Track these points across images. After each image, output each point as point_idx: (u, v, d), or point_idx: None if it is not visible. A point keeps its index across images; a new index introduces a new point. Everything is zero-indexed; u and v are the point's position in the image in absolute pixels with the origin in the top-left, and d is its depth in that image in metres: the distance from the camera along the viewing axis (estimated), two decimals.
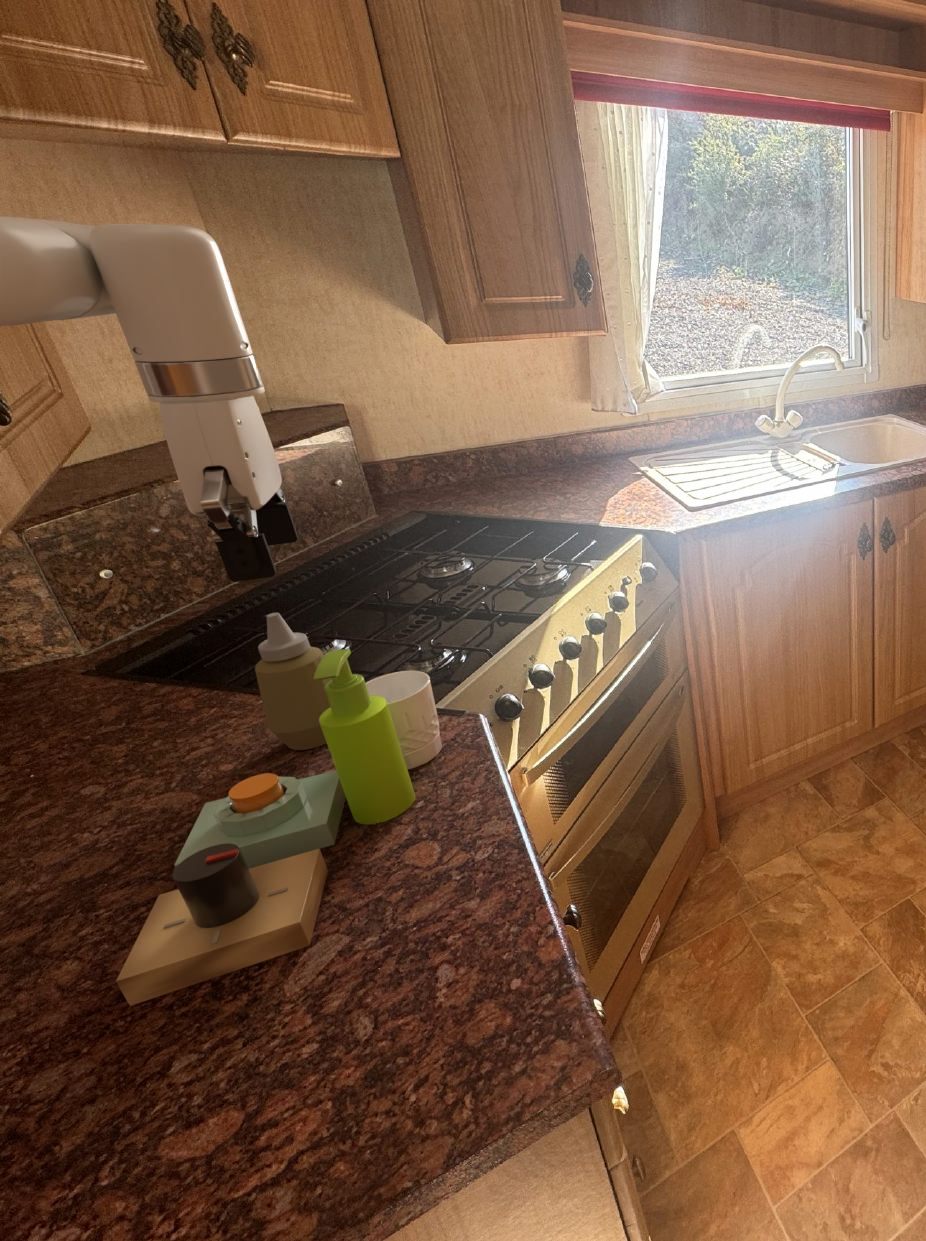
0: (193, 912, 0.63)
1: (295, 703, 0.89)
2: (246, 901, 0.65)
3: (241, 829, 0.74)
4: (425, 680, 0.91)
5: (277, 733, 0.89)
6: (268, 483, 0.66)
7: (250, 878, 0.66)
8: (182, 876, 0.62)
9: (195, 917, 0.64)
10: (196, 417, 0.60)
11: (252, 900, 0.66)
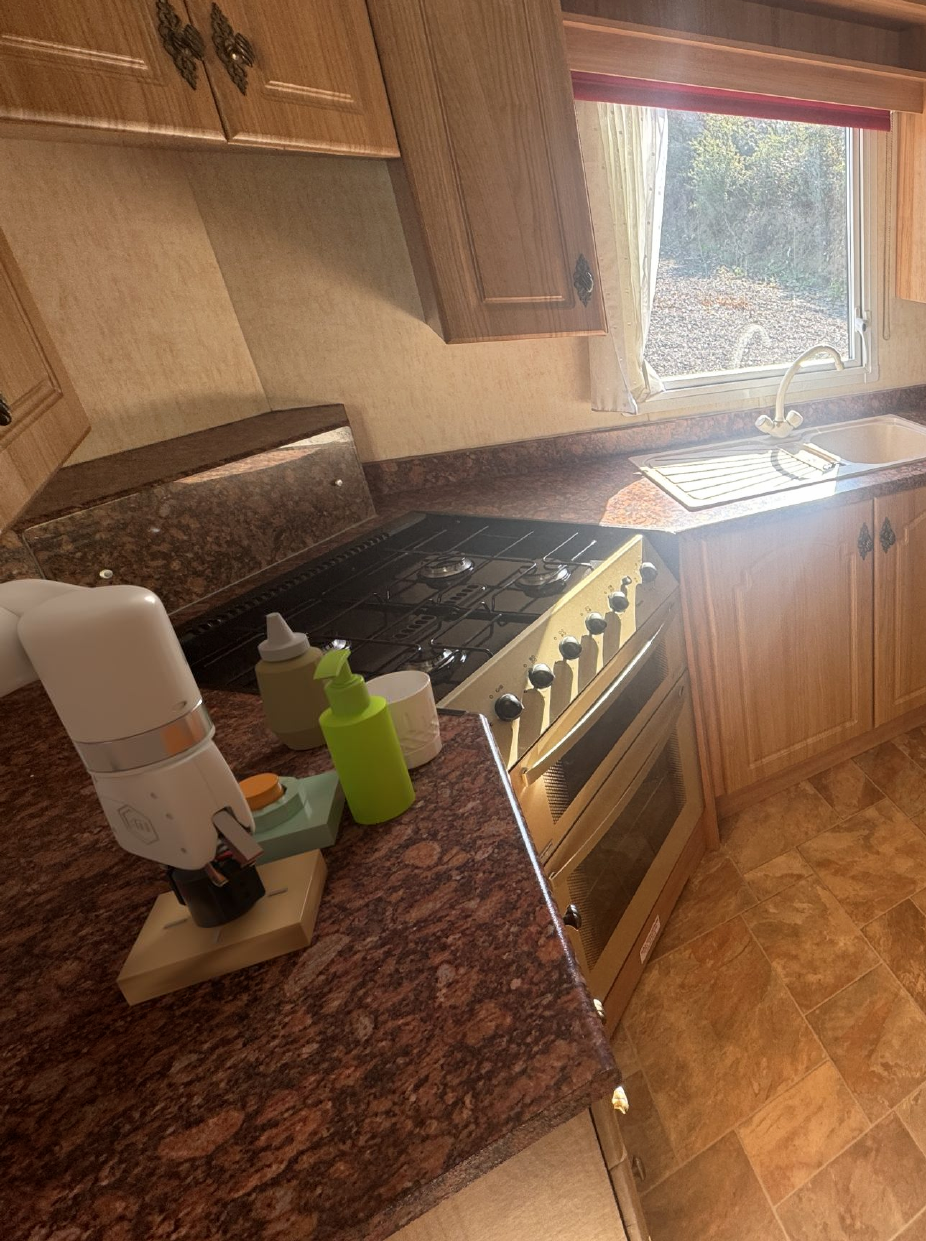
0: (192, 912, 0.63)
1: (294, 703, 0.89)
2: None
3: None
4: (425, 680, 0.91)
5: (277, 733, 0.89)
6: None
7: None
8: (182, 876, 0.62)
9: (195, 917, 0.64)
10: (198, 769, 0.59)
11: None
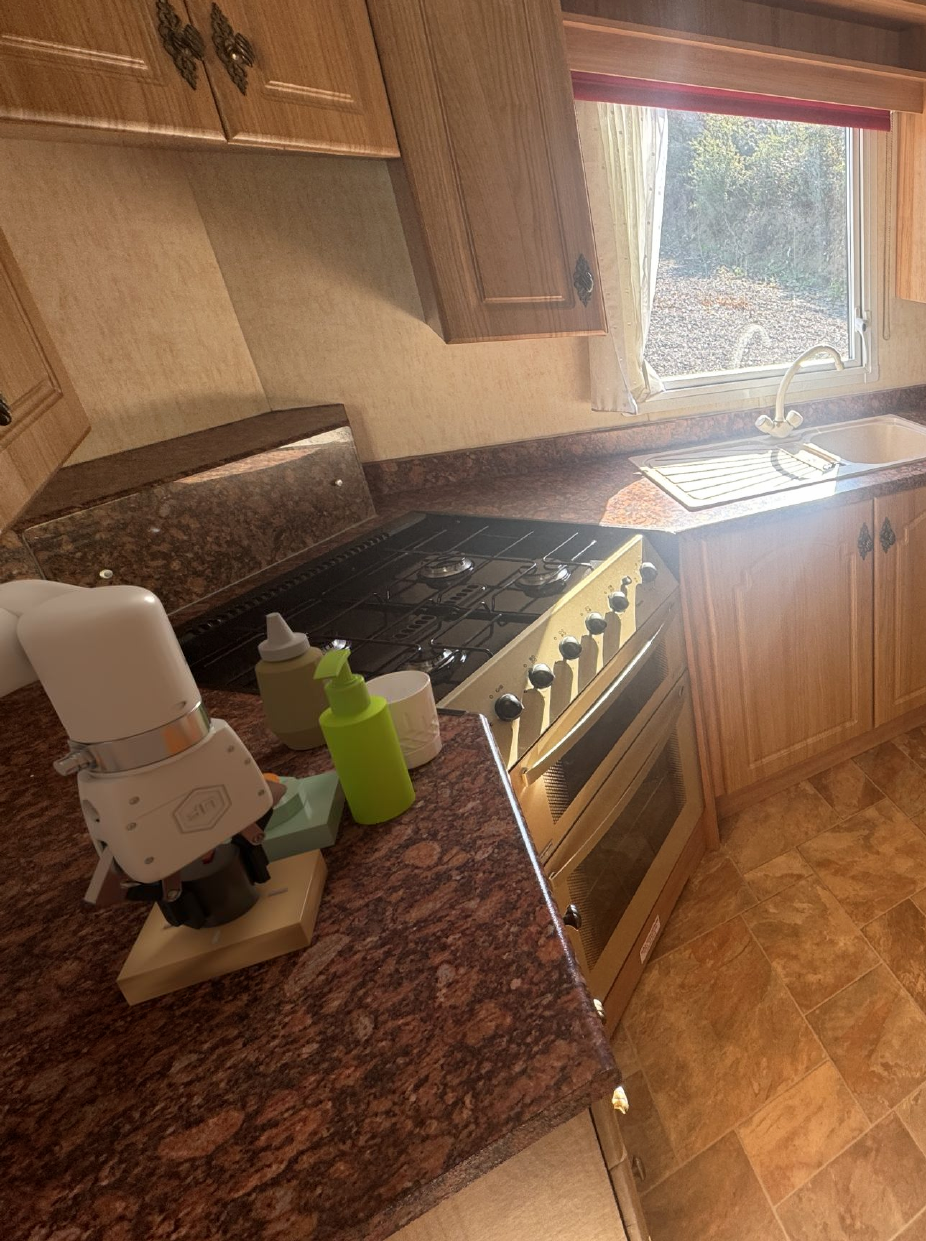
0: (239, 898, 0.65)
1: (294, 703, 0.89)
2: None
3: None
4: (425, 680, 0.91)
5: (277, 733, 0.89)
6: None
7: None
8: (219, 866, 0.63)
9: (241, 903, 0.65)
10: None
11: None
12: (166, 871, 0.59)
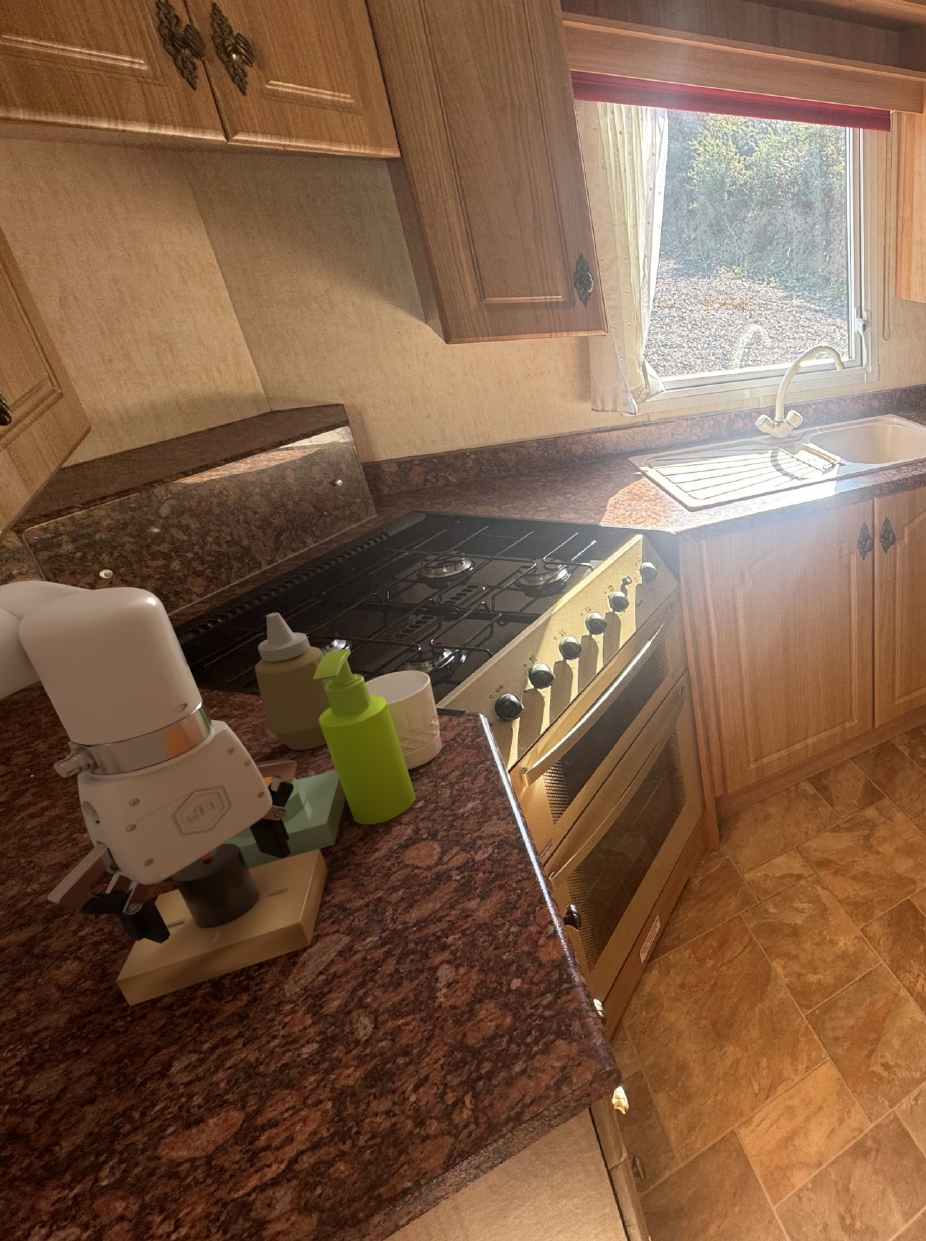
0: (240, 897, 0.65)
1: (294, 703, 0.89)
2: None
3: None
4: (425, 680, 0.91)
5: (277, 733, 0.89)
6: None
7: None
8: (220, 866, 0.63)
9: (242, 902, 0.65)
10: None
11: None
12: (165, 873, 0.59)
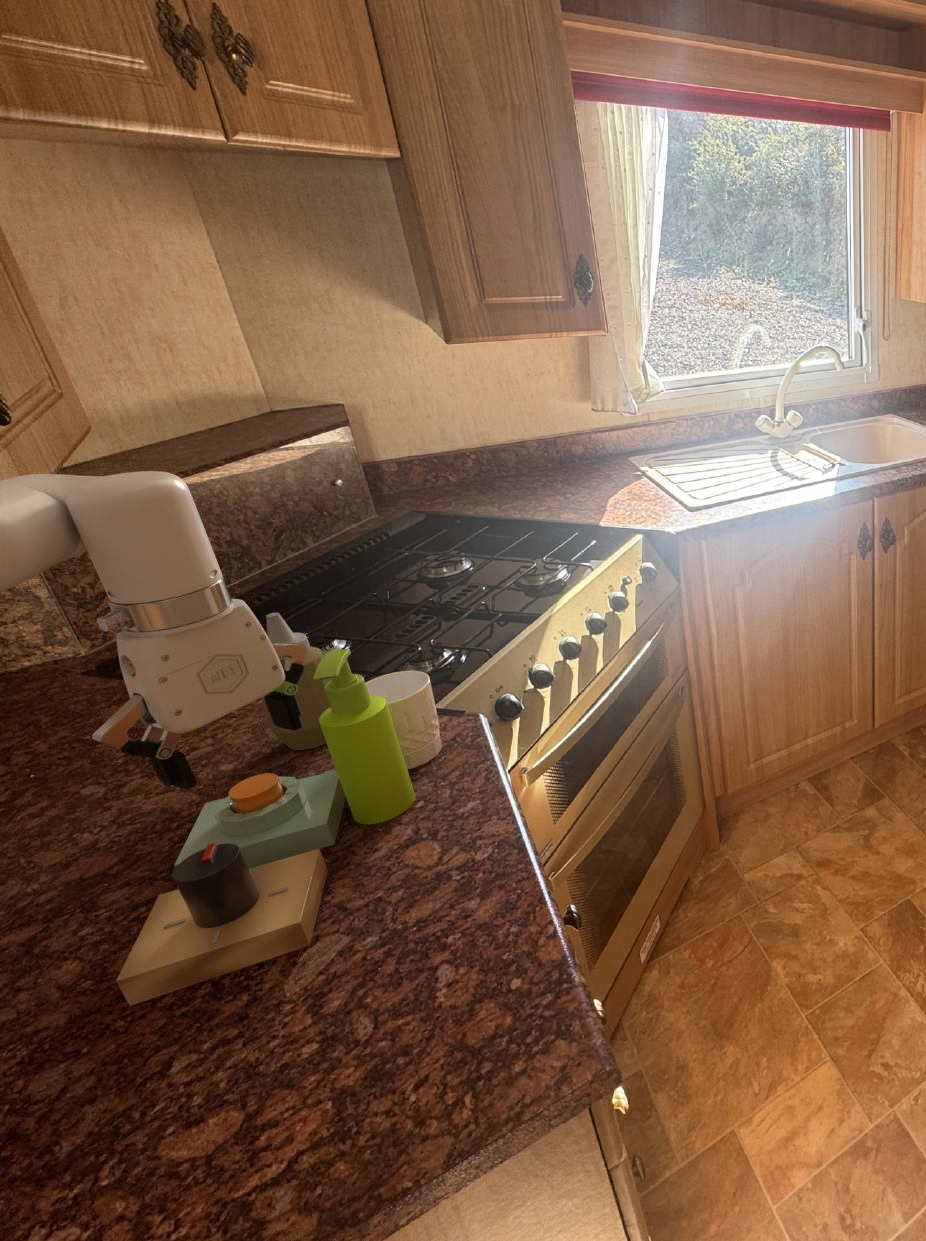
0: (240, 897, 0.65)
1: None
2: None
3: (241, 829, 0.74)
4: (425, 680, 0.91)
5: (277, 733, 0.89)
6: None
7: None
8: (220, 866, 0.63)
9: (242, 902, 0.65)
10: None
11: None
12: (192, 724, 0.67)
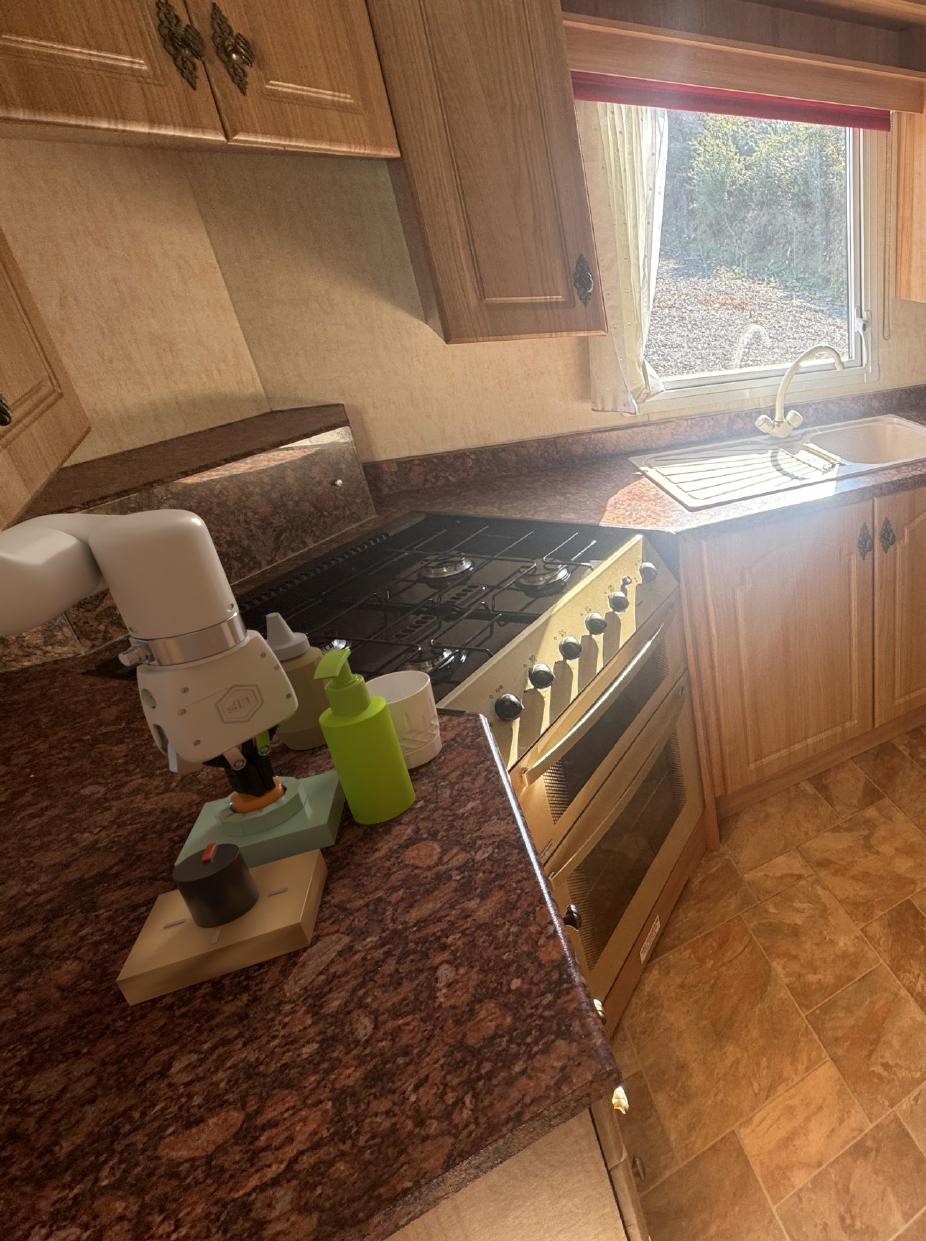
0: (240, 897, 0.65)
1: None
2: None
3: (241, 829, 0.74)
4: (425, 680, 0.91)
5: (277, 733, 0.89)
6: None
7: None
8: (220, 866, 0.63)
9: (242, 902, 0.65)
10: None
11: None
12: (210, 754, 0.69)
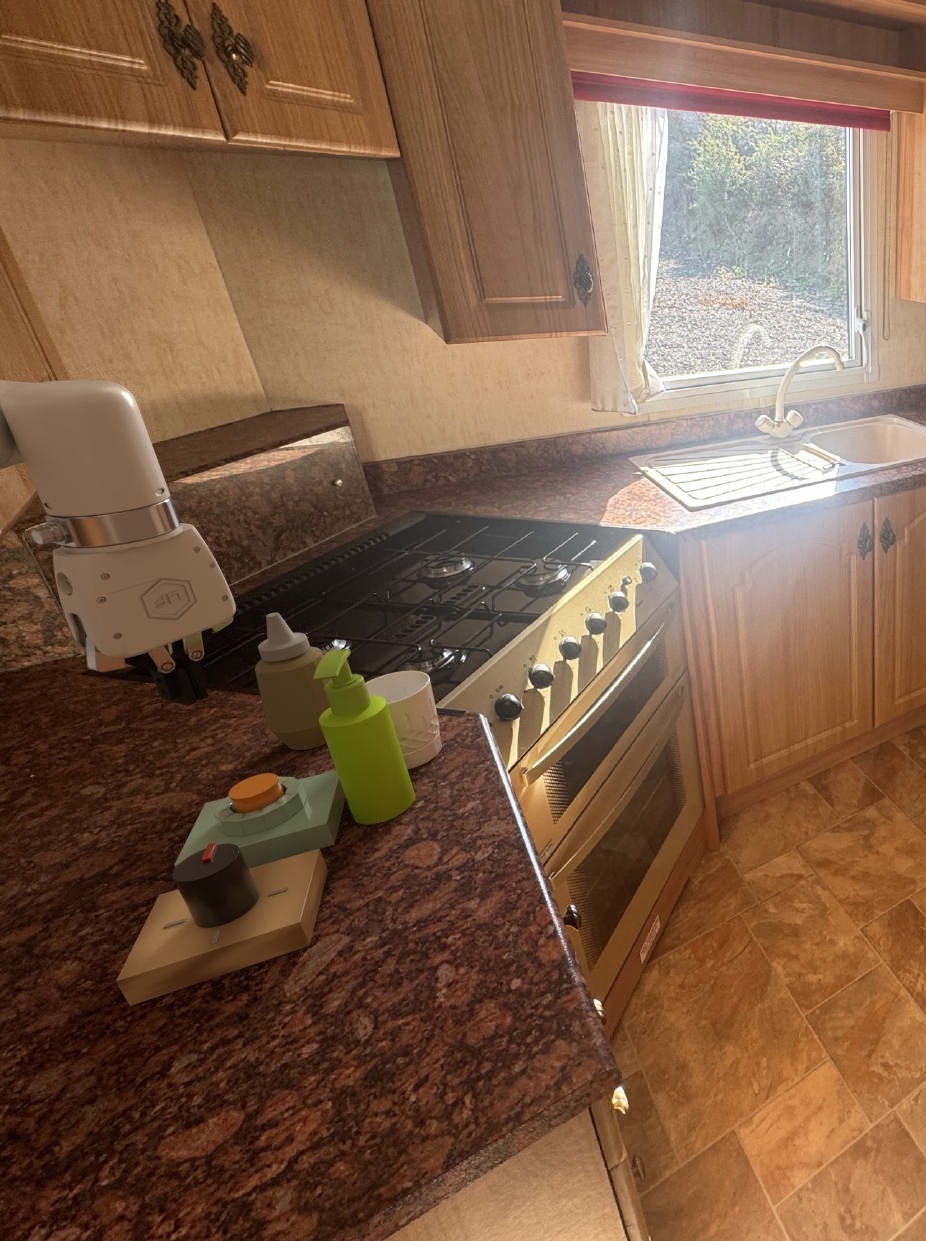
0: (240, 897, 0.65)
1: (294, 703, 0.89)
2: None
3: (241, 829, 0.74)
4: (425, 680, 0.91)
5: (277, 733, 0.89)
6: None
7: None
8: (220, 866, 0.63)
9: (242, 902, 0.65)
10: None
11: None
12: (133, 650, 0.64)
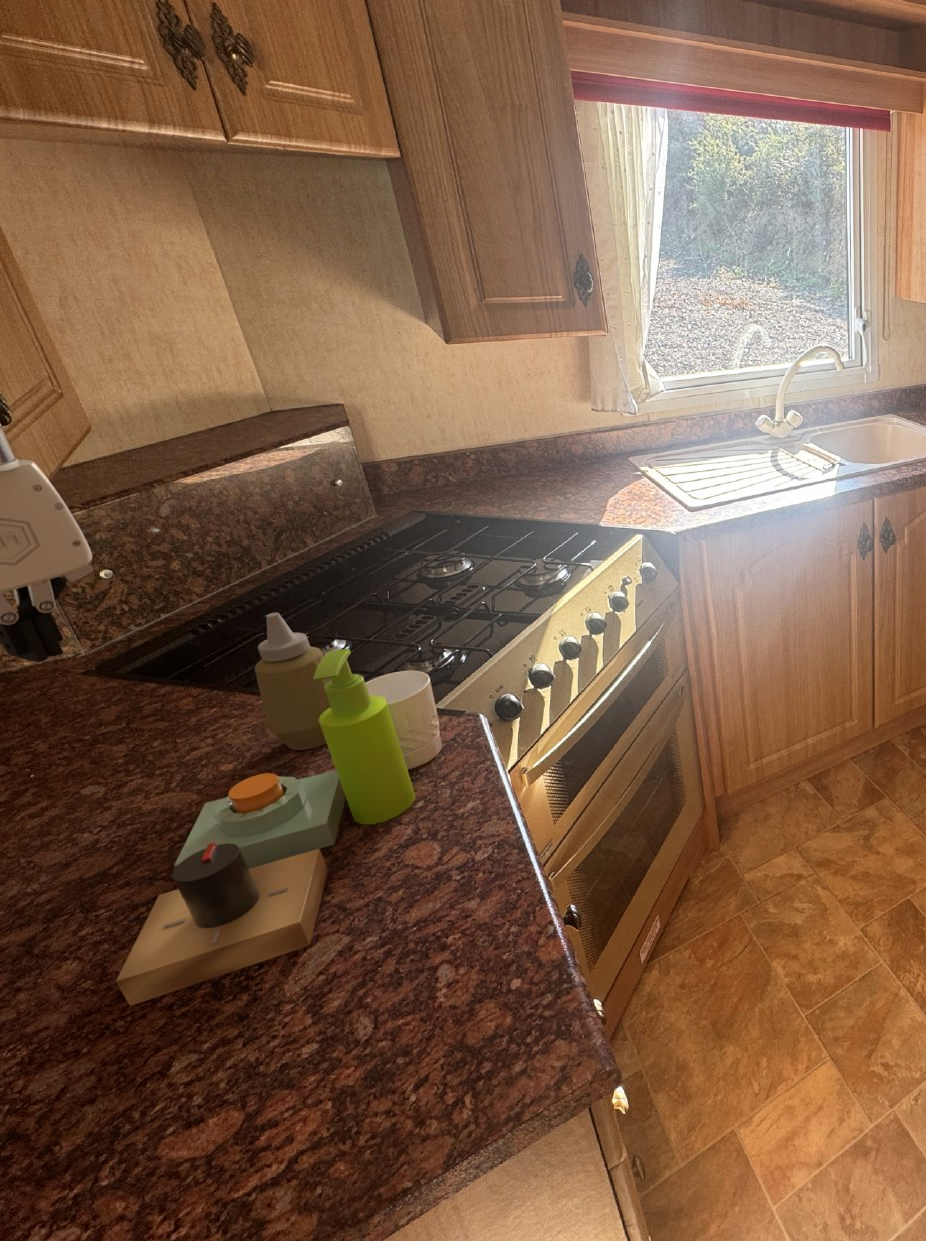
0: (240, 897, 0.65)
1: (294, 703, 0.89)
2: None
3: (241, 829, 0.74)
4: (425, 680, 0.91)
5: (277, 733, 0.89)
6: None
7: None
8: (220, 866, 0.63)
9: (242, 902, 0.65)
10: None
11: None
12: None
